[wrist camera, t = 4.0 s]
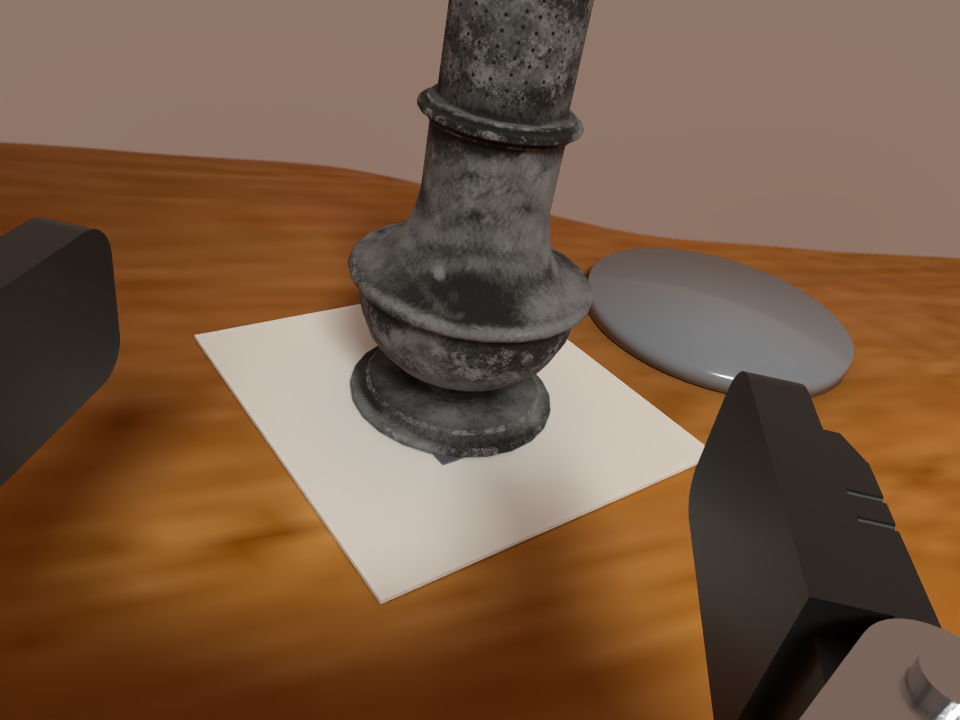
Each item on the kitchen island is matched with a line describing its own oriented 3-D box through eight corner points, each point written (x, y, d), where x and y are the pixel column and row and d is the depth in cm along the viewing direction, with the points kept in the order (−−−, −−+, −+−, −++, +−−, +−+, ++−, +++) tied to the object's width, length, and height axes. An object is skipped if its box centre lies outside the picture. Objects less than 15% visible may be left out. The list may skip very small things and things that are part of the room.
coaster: (734, 431, 22) (742, 413, 21) (531, 282, 27) (535, 266, 27) (896, 362, 27) (905, 347, 26) (697, 249, 32) (702, 236, 32)
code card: (380, 604, 15) (381, 598, 15) (194, 338, 21) (194, 333, 21) (714, 456, 20) (716, 452, 20) (489, 282, 27) (489, 277, 27)
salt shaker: (477, 317, 24) (562, -138, 18) (606, 427, 20) (773, -99, 14) (299, 356, 21) (325, -187, 14) (415, 495, 17) (518, -154, 11)
